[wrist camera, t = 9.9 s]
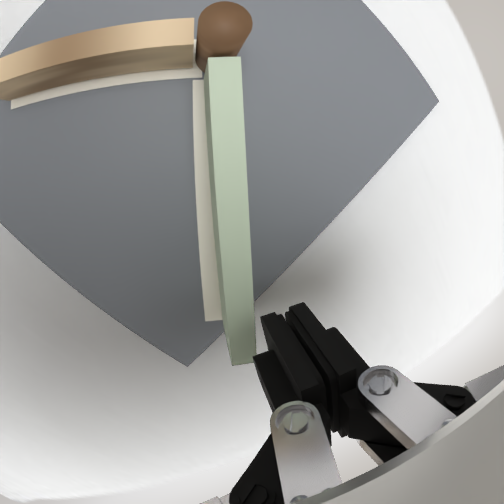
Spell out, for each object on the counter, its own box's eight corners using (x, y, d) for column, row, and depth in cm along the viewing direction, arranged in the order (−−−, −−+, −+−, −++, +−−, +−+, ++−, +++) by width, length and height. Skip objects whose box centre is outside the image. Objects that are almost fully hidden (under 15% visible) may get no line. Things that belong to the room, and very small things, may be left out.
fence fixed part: (15, 108, 10) (-42, 101, 6) (16, 76, 10) (-38, 61, 5) (232, 76, 12) (253, 46, 8) (232, 44, 11) (252, 2, 7)
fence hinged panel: (203, 78, 11) (208, 57, 8) (228, 76, 11) (240, 56, 8) (223, 323, 15) (232, 365, 12) (243, 320, 15) (256, 361, 12)
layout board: (189, 363, 16) (189, 368, 16) (-53, 157, 10) (-58, 158, 9) (435, 103, 14) (440, 102, 13) (206, -108, 7) (206, -112, 7)
